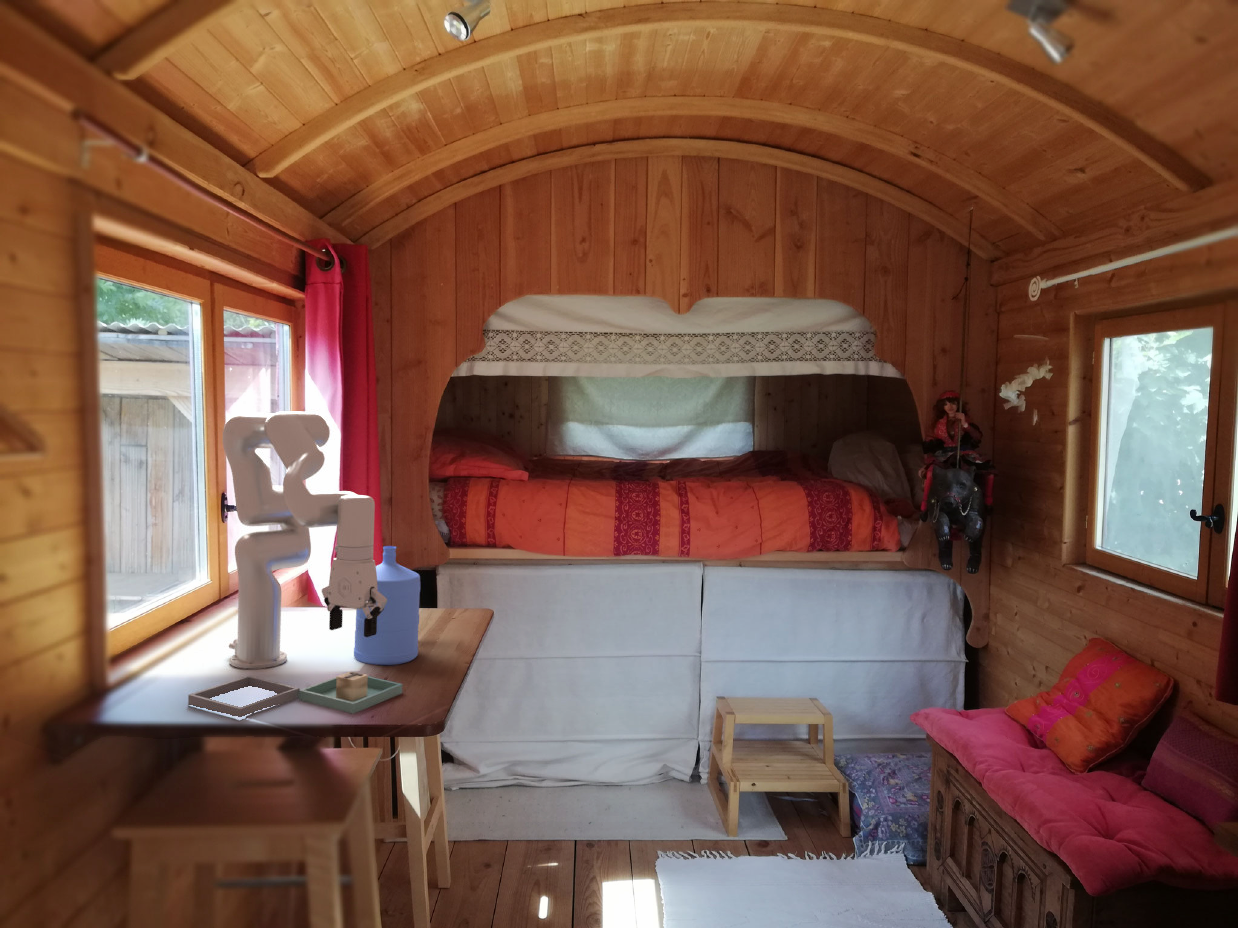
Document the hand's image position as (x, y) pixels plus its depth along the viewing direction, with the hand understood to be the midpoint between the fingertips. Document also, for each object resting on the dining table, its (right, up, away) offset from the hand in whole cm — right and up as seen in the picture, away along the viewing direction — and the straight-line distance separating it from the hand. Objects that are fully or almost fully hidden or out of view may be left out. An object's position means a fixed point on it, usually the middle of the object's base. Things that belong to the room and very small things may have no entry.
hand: (352, 632), depth 179 cm
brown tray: (-21, -14, -5) cm, 26 cm away
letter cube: (-1, -14, +1) cm, 14 cm away
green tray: (-1, -14, +1) cm, 14 cm away
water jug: (-2, -13, +31) cm, 34 cm away
